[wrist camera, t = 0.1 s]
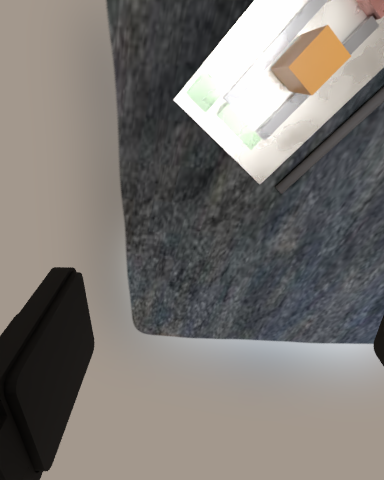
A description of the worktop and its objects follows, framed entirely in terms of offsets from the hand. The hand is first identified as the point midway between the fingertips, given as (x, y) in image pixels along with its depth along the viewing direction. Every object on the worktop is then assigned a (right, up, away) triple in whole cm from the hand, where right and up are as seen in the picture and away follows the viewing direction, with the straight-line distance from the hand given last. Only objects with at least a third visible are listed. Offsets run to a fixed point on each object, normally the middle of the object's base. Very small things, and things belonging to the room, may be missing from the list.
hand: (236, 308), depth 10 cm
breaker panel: (+9, +21, +24) cm, 33 cm away
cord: (+16, +15, +27) cm, 35 cm away
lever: (+9, +20, +23) cm, 32 cm away
